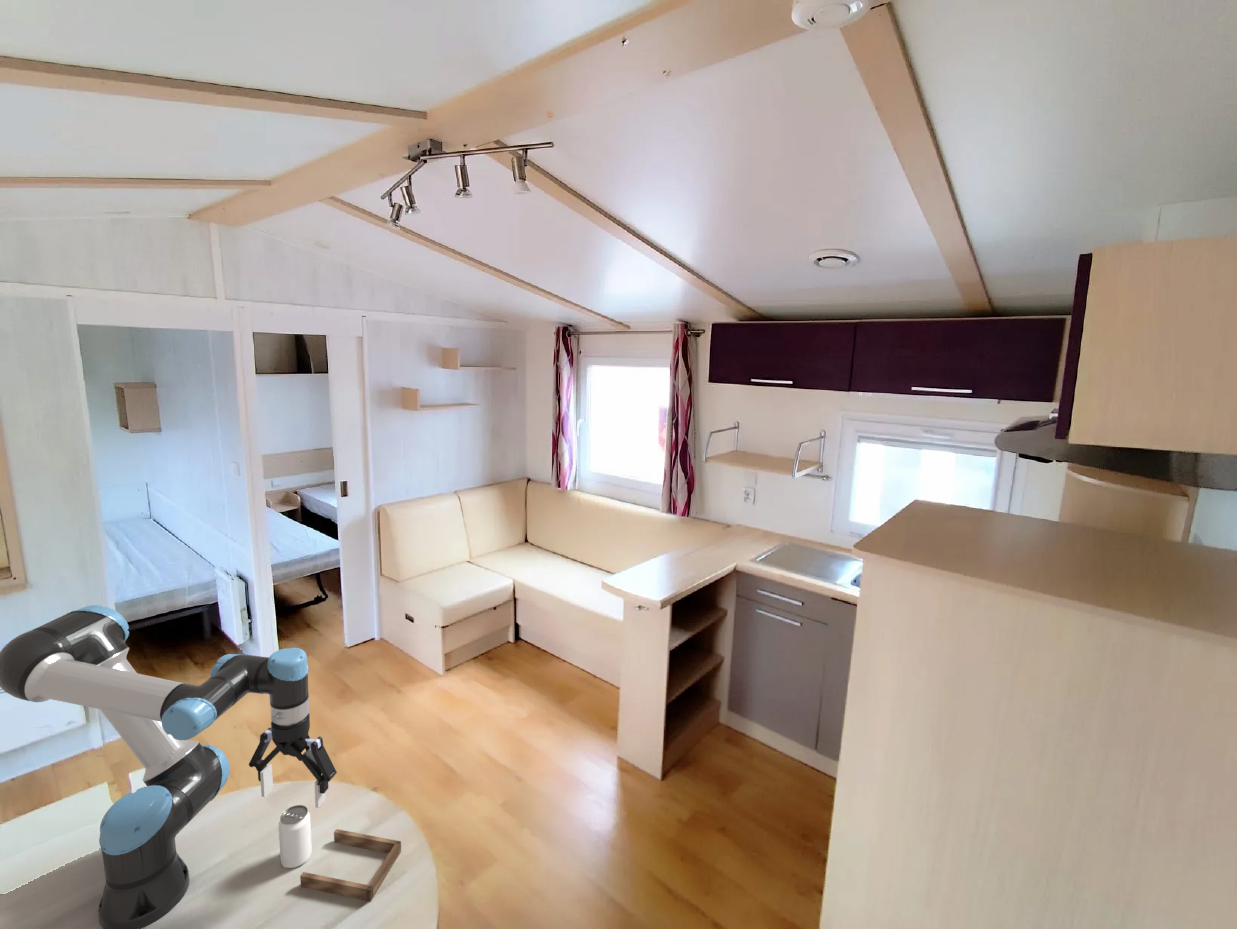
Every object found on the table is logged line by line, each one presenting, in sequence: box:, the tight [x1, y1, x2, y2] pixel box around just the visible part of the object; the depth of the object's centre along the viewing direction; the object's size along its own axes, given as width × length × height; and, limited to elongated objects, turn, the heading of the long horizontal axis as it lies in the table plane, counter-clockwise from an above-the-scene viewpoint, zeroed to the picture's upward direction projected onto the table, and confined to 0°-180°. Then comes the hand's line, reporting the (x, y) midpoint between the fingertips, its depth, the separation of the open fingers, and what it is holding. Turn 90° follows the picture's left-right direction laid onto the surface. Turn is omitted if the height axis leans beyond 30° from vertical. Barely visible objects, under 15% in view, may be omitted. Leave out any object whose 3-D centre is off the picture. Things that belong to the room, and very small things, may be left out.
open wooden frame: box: [299, 828, 402, 902], centre depth 134 cm, size 17×13×3 cm
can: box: [278, 804, 313, 869], centre depth 135 cm, size 6×6×12 cm
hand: (293, 797), depth 132 cm, fingers open, 13 cm apart
